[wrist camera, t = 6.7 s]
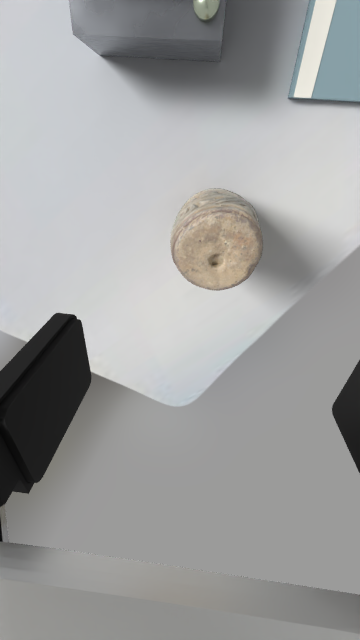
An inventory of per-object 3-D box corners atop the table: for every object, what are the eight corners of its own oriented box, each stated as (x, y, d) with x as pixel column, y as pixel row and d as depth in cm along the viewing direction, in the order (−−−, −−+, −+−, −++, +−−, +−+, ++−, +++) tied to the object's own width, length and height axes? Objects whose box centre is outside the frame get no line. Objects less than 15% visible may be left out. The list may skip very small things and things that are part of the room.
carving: (256, 231, 28) (280, 278, 18) (191, 256, 30) (182, 310, 20) (239, 170, 25) (257, 186, 15) (169, 202, 27) (145, 234, 17)
